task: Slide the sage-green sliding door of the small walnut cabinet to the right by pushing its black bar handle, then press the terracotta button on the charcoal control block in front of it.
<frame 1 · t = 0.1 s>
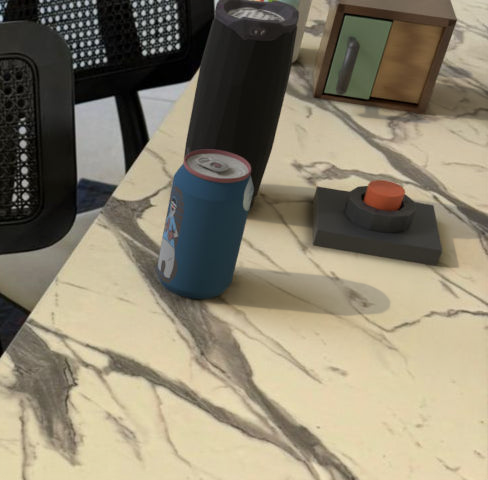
cabinet: (365, 95, 134), on the table
button: (384, 196, 102), point 4 cm above the table, slide at 0.1 cm
sliding door: (357, 64, 125), point 6 cm above the table, slide at 0.0 cm
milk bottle: (268, 59, 142), on the table
soda can: (191, 287, 95), on the table
control block: (370, 236, 105), on the table
portable speaker: (215, 203, 108), on the table
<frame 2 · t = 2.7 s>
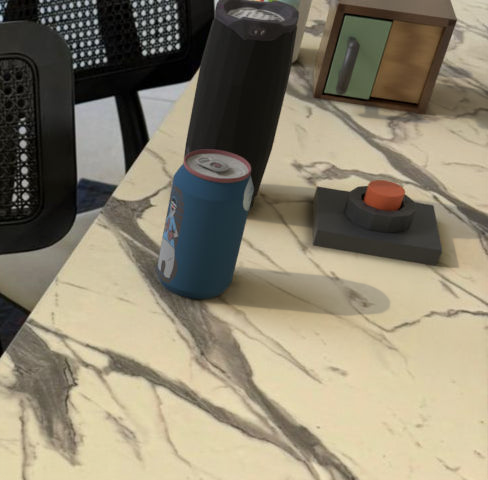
nothing on the table moved.
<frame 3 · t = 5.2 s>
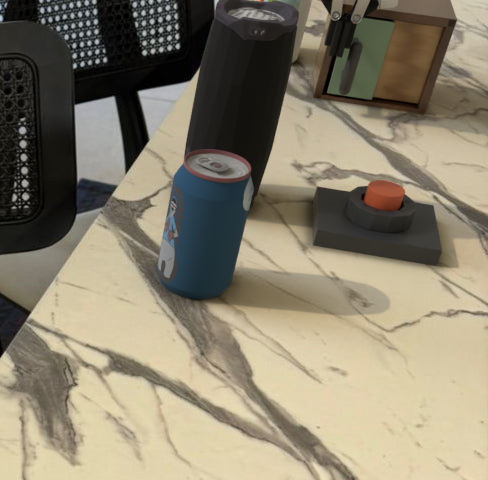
hand: (335, 52, 123), 8 cm above the table, tool pointing down, fingers closed
sliding door: (360, 64, 125), point 6 cm above the table, slide at 0.4 cm, touching gripper
everything else where it was.
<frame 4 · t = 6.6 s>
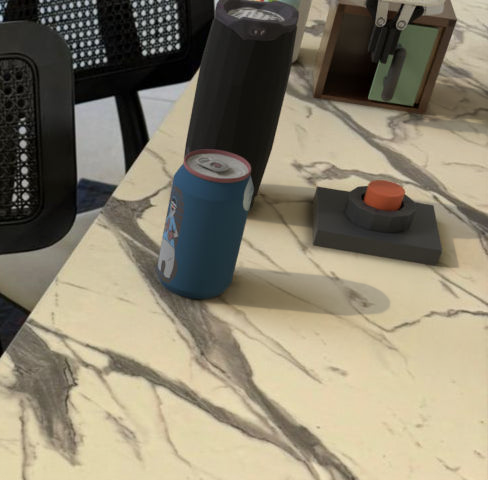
hand: (378, 59, 122), 8 cm above the table, tool pointing down, fingers closed
sliding door: (403, 71, 124), point 6 cm above the table, slide at 5.5 cm, touching gripper
everything else where it was.
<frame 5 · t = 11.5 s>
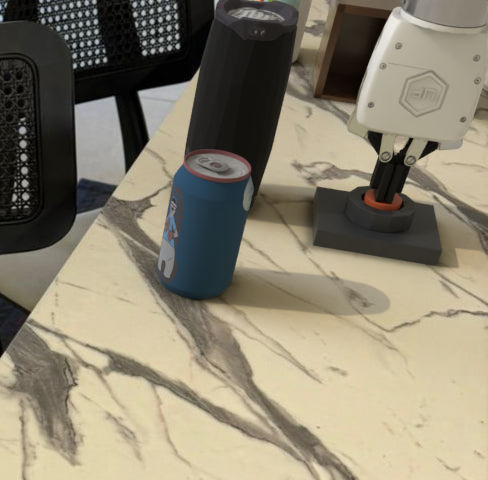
hand: (382, 196, 102), 4 cm above the table, tool pointing down, fingers closed
button: (381, 204, 102), point 4 cm above the table, slide at -0.9 cm, touching gripper
sliding door: (403, 71, 124), point 6 cm above the table, slide at 5.5 cm
everything else where it was.
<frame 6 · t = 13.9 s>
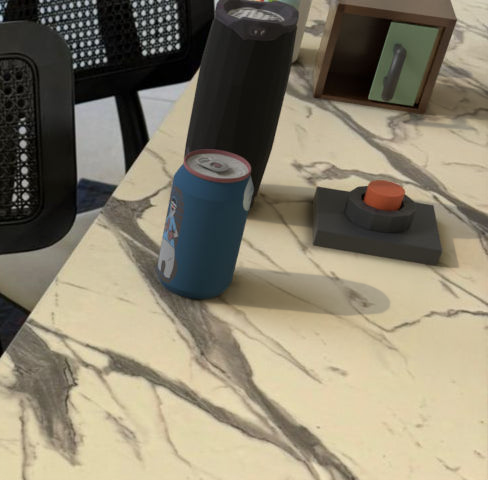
button: (384, 196, 102), point 4 cm above the table, slide at 0.1 cm
everything else where it was.
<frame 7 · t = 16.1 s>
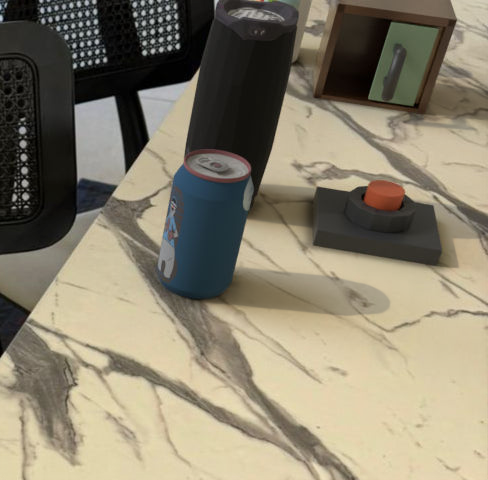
nothing on the table moved.
at the end: sliding door slide at 5.5 cm; button pushed in 1.1 cm at the most during the clip, back to where it started at the end; button slide at 0.1 cm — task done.
